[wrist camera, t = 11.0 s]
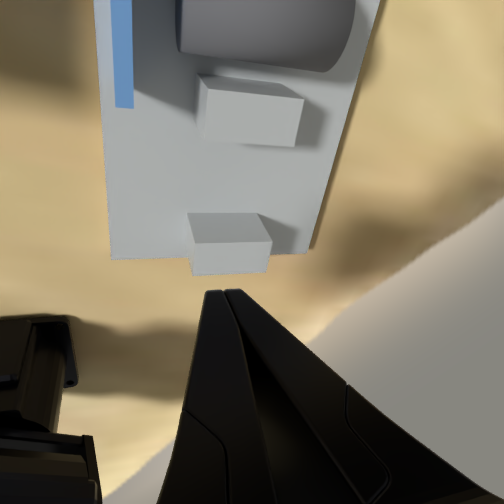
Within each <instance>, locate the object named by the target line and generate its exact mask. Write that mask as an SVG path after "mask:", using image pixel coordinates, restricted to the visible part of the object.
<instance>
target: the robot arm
mask: <svg viewBox="0 0 504 504" xmlns="http://www.w3.org/2000/svg"><path fill="white" fill-rule="evenodd" d="M58 324H62V325H58ZM77 384H78V371H77V365H76V359H75V352H74V346H73V340H72V334H71V328H70V322H69V320H68V319H67V318H66V317H60V316H59V317H46V318H32V319H19V320H6V321H0V504H102V492H101V486H100V479H99V473H98V467H97V460H96V454H95V447H94V441H93V436H89V435H82V436H75V435H67V434H59V433H57V428H58V421H59V414H60V407H61V400H62V393H63V388H68V387H74V386H76V385H77ZM156 504H504V499H502V498H500V497H498V496H496V495H494V494H492V493H490V492H489V491H487V490H485V489H484V488H482V487H481V486H479V485H478V484H476V483H475V482H473V481H472V480H470V479H469V478H468V477H466V476H465V475H464V474H462V473H461V472H460V471H458V470H457V469H456V468H454V467H453V466H451V465H450V464H449V463H448V462H446V461H445V460H443V459H442V458H440V457H439V456H438V455H437V454H435V453H434V452H432V451H431V450H430V449H429V448H427V447H426V446H425V445H423V444H422V443H420V442H419V441H418V440H417V439H415V438H414V437H413V436H411V435H410V434H409V433H407V432H406V431H405V430H404V429H402V428H401V427H400V426H398V425H397V424H396V423H394V422H393V421H392V420H391V419H389V418H388V417H387V416H386V415H384V414H383V413H382V412H381V411H379V410H378V409H377V408H376V407H375V406H374V405H372V404H371V403H370V402H369V401H368V400H366V399H365V398H364V397H363V396H362V395H361V394H360V393H358V392H357V391H356V390H355V389H354V388H353V387H351V386H350V385H347V384H346V381H345V380H343V379H342V378H341V377H340V376H339V375H338V374H337V373H336V372H334V371H333V370H332V369H331V368H330V367H329V366H327V365H326V364H325V363H324V362H323V361H322V360H321V359H320V358H319V357H317V356H316V355H315V354H314V353H313V352H312V351H310V350H309V349H308V348H307V347H306V346H305V345H304V344H303V343H302V342H301V341H299V340H298V339H297V338H296V337H295V336H294V335H293V334H291V333H290V332H289V331H288V330H287V329H286V328H285V327H284V326H282V325H281V324H280V323H279V322H278V321H277V320H276V319H275V318H273V317H272V316H271V315H270V314H269V313H268V312H267V311H265V310H264V309H263V308H262V307H261V306H260V305H259V304H258V303H256V302H255V301H254V300H253V299H252V298H251V297H250V296H249V295H247V294H246V293H245V292H244V291H243V290H241V289H225V290H224V291H222V290H208V291H206V292H205V295H204V300H203V305H202V310H201V315H200V320H199V326H198V331H197V336H196V341H195V346H194V351H193V356H192V361H191V366H190V371H189V376H188V381H187V386H186V391H185V396H184V401H183V406H182V412H181V415H180V420H179V425H178V430H177V435H176V439H175V443H174V448H173V452H172V456H171V460H170V463H169V466H168V469H167V472H166V476H165V479H164V483H163V485H162V489H161V492H160V494H159V497H158V501H157V503H156Z"/></svg>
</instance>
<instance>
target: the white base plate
mask: <svg viewBox="0 0 504 504" xmlns="http://www.w3.org/2000/svg"><path fill="white" fill-rule="evenodd" d="M93 1H94V16H95V31H96V45H97V60H98V74H99V89H100V103H101V118H102V132H103V147H104V161H105V176H106V190H107V205H108V219H109V234H110V249H111V260H125V259H154V258H183V257H188V259H189V263H190V268H191V272H192V276H202V275H223V274H243V273H263V272H266V270H267V265H268V261H269V256H270V255H271V254H300V253H307V251H308V248H309V244H310V241H311V237H312V234H313V231H314V227H315V224H316V220H317V217H318V213H319V210H320V206H321V203H322V200H323V196H324V193H325V189H326V186H327V182H328V179H329V175H330V172H331V168H332V165H333V162H334V158H335V155H336V151H337V148H338V144H339V141H340V137H341V134H342V131H343V127H344V124H345V120H346V117H347V113H348V110H349V106H350V103H351V99H352V96H353V93H354V89H355V86H356V82H357V79H358V75H359V72H360V68H361V65H362V62H363V58H364V55H365V51H366V48H367V44H368V41H369V37H370V34H371V30H372V27H373V24H374V20H375V17H376V13H377V10H378V6H379V3H380V0H356V5H355V14H354V20H353V25H352V29H351V33H350V36H349V39H348V42H347V44H346V47H345V49H344V51H343V53H342V55H341V57H340V58H339V60H338V61H337V63H336V64H335V65H334V66H333V67H332V68H331V69H330V70H329V71H327V72H324V73H321V72H314V71H307V70H300V69H293V68H286V67H279V66H272V65H265V64H259V63H252V62H245V61H238V60H231V59H224V58H217V57H210V56H203V55H196V54H189V53H182V52H179V51H178V49H177V44H176V31H175V0H93Z"/></svg>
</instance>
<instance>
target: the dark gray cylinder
mask: <svg viewBox="0 0 504 504" xmlns="http://www.w3.org/2000/svg"><path fill="white" fill-rule="evenodd" d="M355 5H356V0H175V31H176V44H177V49H178V51H179V52H182V53H189V54H196V55H203V56H210V57H217V58H224V59H231V60H238V61H245V62H252V63H259V64H265V65H272V66H279V67H286V68H293V69H300V70H307V71H314V72H321V73H324V72H327V71H329V70H330V69H331V68H332V67H333V66H334V65H335V64H336V63H337V61H338V60H339V58H340V57H341V55H342V53H343V51H344V49H345V47H346V44H347V42H348V39H349V36H350V33H351V29H352V25H353V20H354V14H355Z"/></svg>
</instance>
